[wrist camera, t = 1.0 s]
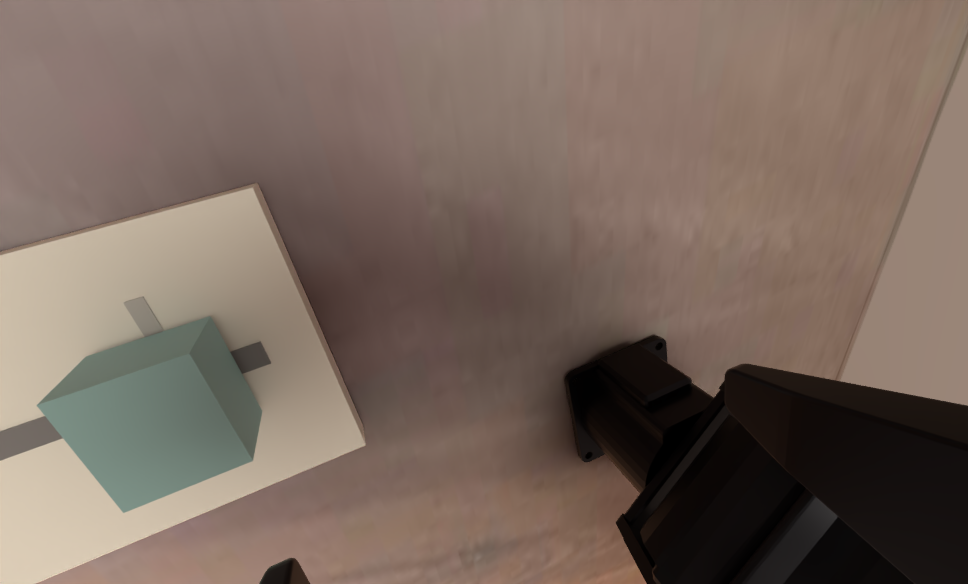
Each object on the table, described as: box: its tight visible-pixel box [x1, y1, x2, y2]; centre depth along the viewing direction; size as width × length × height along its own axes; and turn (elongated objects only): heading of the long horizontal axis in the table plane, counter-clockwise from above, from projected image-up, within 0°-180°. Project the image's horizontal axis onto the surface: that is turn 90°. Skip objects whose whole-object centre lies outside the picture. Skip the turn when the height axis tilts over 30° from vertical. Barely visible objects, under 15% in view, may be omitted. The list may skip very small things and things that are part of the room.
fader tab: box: [37, 316, 262, 513], centre depth 15 cm, size 4×4×3 cm
